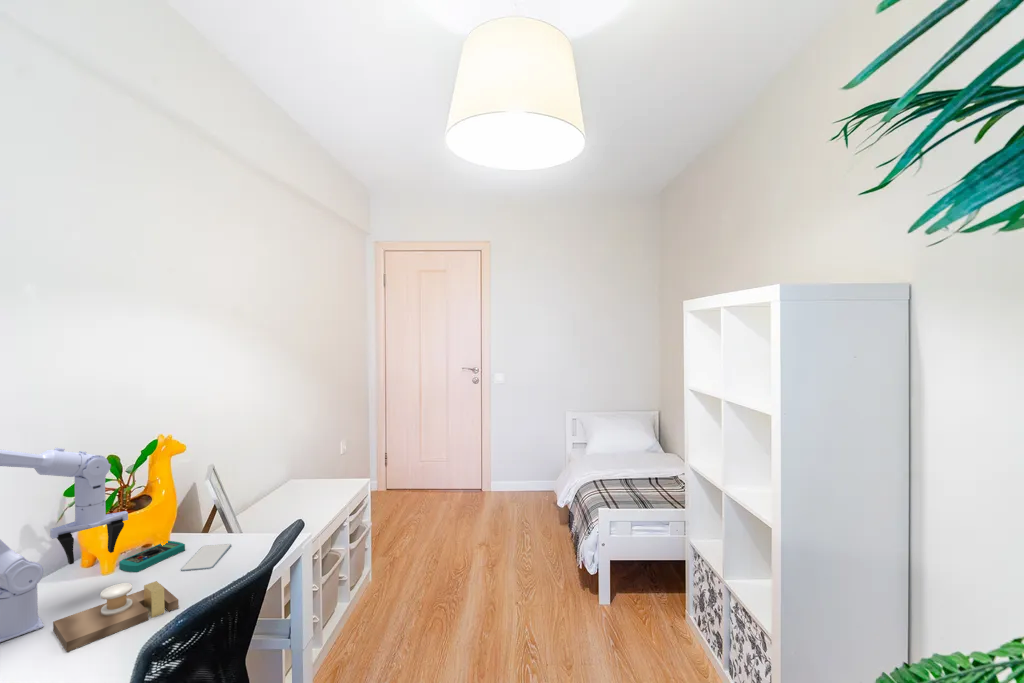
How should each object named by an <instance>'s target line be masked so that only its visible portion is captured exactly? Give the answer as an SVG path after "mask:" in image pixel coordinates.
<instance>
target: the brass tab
mask: <svg viewBox="0 0 1024 683" xmlns="http://www.w3.org/2000/svg"><path fill="white" fill-rule="evenodd" d="M164 588H165V587H164V585H162V584H161V583H160V582H158V580H156V581H152V582H150V583H147V584H144V586H143V590H144V607H145V608H146V609H147V610H148V616H149V617H150V618H152V619H153V618H155V617H158V616H160V615H162V613H163V614H165V613H166V612H165V610H166V609H165V605H164ZM164 612H165V613H164ZM157 615H158V616H157Z"/></svg>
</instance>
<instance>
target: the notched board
mask: <svg viewBox="0 0 1024 683" xmlns="http://www.w3.org/2000/svg"><path fill="white" fill-rule="evenodd" d="M127 599H131V600H132V606H131V607H130V608H129V609H128V610H126V611H124V612H122V613H119V614H115V615H110V616H104V615H102V614H101V608H102V607H103V606H104V605H106V604H107V602H105V603H102V604H99V605H95V606H94V607H90V608H87V609H85V610H82V611H79V612H76V613H73V614H71V615H68V616H65V617H62V618H60V619H57V620H54V621H52V624H53V625H52V629H53V633H54V634H55V636H56V637H57V639H58V640H59V642H60V644H61V645H62V647H63V648H64V651H66V652H70V651H73V650H75V649H78V648H80V647H83V646H85V645H87V644H90V643H93V642H96V641H98V640H100V639H103V638H106V637H108V636H111V635H114V634H116V633H119V632H121V631H124V630H126V629H128V628H131V627H134V626H136V625H139V624H141V623H143V622H146V621H148V620H149V614H148V610H147V609H146V608H145V607H144V589H142V590H138V591H136V592H133V593H130V594H128V595H127ZM164 605H165V608H166V609H167V610H168V611H167V610H166V609H165V610H166V611H167V612H171V611H170V610H172V611H174V610H176V608H177V609H179V608H180V607H179V606H180V605H179V598H177V597H176V596H175V595H174V594H173V593H171V591H169V590H168V589H166V588H165V587H164ZM173 609H174V610H173Z"/></svg>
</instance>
